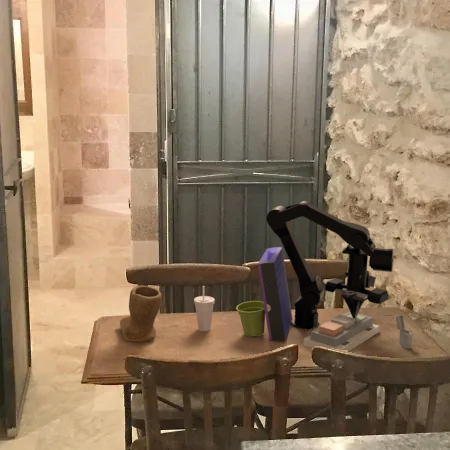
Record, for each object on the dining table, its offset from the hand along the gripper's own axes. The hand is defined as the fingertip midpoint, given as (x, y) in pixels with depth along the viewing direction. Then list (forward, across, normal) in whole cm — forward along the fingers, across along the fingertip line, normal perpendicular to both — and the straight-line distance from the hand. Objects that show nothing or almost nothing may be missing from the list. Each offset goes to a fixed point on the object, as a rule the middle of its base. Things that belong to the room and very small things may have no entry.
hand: (354, 317), depth 202 cm
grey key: (+1, 0, +7) cm, 7 cm away
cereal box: (+4, +17, +14) cm, 23 cm away
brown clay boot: (+5, +47, +44) cm, 65 cm away
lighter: (+5, -15, -1) cm, 16 cm away
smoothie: (+5, +36, +28) cm, 46 cm away
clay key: (+1, 0, +14) cm, 14 cm away
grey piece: (+5, 0, +7) cm, 8 cm away
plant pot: (+5, +22, +22) cm, 31 cm away
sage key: (+2, 0, 0) cm, 2 cm away
